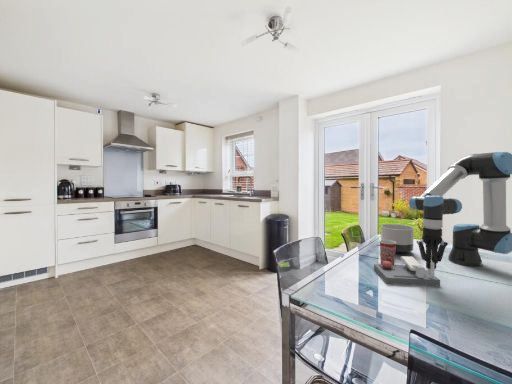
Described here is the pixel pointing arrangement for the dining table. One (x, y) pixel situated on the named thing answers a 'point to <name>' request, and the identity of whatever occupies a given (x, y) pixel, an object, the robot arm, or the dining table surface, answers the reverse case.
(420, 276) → the slider
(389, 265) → the button
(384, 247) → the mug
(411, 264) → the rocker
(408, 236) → the planter
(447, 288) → the dining table surface
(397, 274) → the panel
